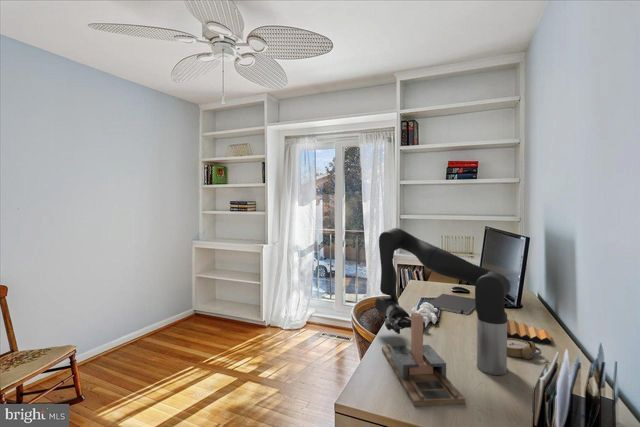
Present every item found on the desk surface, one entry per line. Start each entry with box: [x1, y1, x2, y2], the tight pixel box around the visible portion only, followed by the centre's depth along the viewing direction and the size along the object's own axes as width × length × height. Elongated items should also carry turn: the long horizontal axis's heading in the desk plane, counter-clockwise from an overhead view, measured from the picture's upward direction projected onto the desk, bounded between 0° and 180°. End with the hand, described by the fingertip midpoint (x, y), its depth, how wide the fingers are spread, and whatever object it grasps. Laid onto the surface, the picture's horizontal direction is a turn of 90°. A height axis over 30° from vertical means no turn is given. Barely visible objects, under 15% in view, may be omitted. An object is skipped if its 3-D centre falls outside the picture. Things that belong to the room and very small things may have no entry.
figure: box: [409, 301, 438, 328], centre depth 162 cm, size 13×8×25 cm
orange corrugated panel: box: [507, 318, 553, 346], centre depth 151 cm, size 25×3×25 cm
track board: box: [381, 343, 466, 407], centre depth 112 cm, size 36×15×2 cm, turn 4°
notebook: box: [428, 293, 476, 315], centre depth 189 cm, size 22×2×28 cm
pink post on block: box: [408, 313, 433, 375], centre depth 112 cm, size 8×8×18 cm
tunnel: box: [390, 344, 447, 380], centre depth 112 cm, size 14×14×5 cm
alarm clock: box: [507, 337, 542, 360], centre depth 127 cm, size 11×5×15 cm
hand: (410, 331), depth 118 cm, fingers open, 8 cm apart
